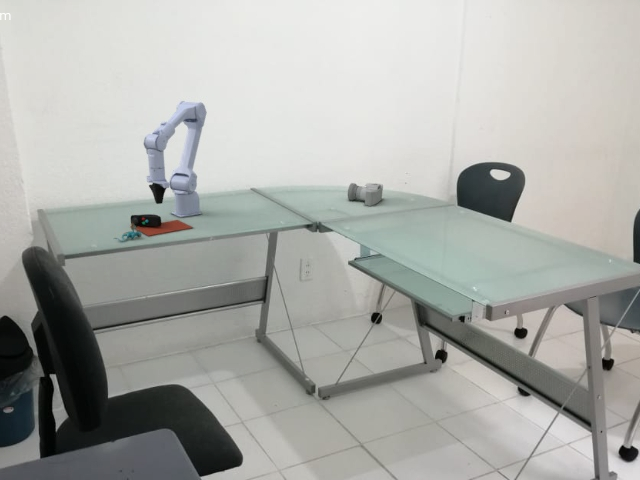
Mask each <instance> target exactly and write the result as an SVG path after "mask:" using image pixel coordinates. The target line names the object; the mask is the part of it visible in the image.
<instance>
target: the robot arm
mask: <svg viewBox="0 0 640 480" xmlns="http://www.w3.org/2000/svg"><path fill="white" fill-rule="evenodd" d="M206 116H207V109H206V106H205V104H204V103H203V102H195V101H194V102H193V101H185V100H181V101H180V102H179V103H178V104H177V105H176V111H175V112H173V114H172V116H171V117H170V118H169V119H168V121H161V122H160V125H158V127H157V128H156V129H154V131H153V132H152V133H148V134H146V135H145V137H144V139H143V147H144V148H145V151H146V155H147V159H148V161H147V162H148V172H149V173H148V174H149V175H146V182H147V183H149V185H148V188H149V189H150V191H151V193H152V196H153V198H154V202H155V204H157V205H161V204H163V202H164V197H165V193H166V190H167V189H170V190H171V191H172V193H173V195H174V211H171V214H173V215H174V216H176V217H179V218H185V217H191V216H197V215H201V214H202V213H201V207H200V206H201V205H200V196H199V193H198V192H197V191H196V190H197V187H198V183H197V181H198V175H197V174H196V173H195V171H194V166H195V162H196V158H197V153H198V148H199V146H200V145H199V144H200V140H201V135H202V131H203V127H204V126H205V121H206ZM181 123H183V124H184V125H185V126H186V127H187V133H186V137H185V141H184V145H183V149H182V154H181V157H180V163H179V166H178V167H176V168H175V169H174V170H173V171H172V174H171V176H170V178H169V180H167V178H166V170H165V169H166V167H165V152H164V151H165V150H166V148H167V145H168V142H169V141H170V139H171V138H172V137H173V136H174V135H175V133H176V128H177V127H178V126H180V124H181ZM150 183H151V184H150Z"/></svg>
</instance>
